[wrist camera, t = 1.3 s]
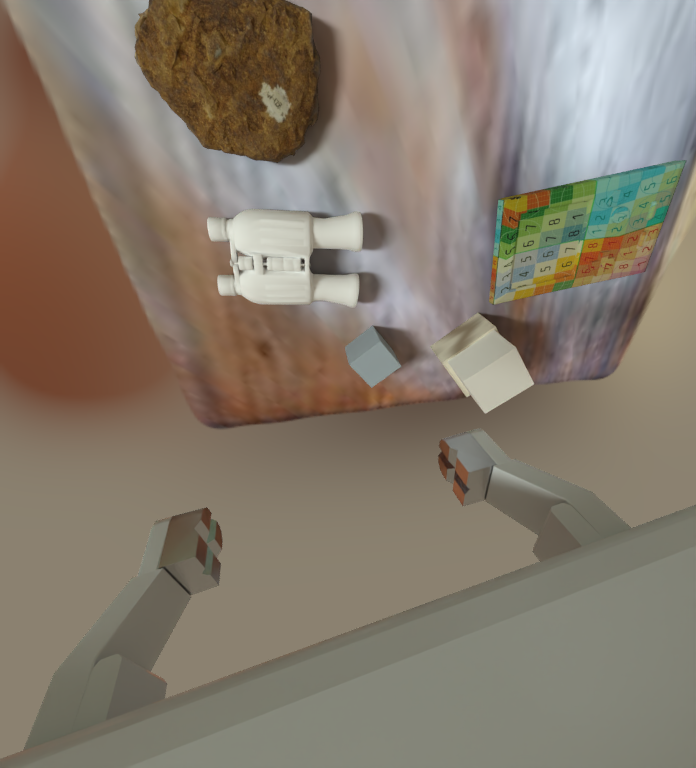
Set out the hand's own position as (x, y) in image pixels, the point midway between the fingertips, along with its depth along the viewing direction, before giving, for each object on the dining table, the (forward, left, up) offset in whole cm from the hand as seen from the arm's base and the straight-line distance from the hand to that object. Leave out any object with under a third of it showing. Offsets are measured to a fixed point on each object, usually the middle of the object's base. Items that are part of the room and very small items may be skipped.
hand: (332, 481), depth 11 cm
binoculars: (+1, -2, -33) cm, 33 cm away
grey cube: (+1, +14, -32) cm, 35 cm away
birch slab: (-10, +24, -33) cm, 42 cm away
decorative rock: (-5, -16, -33) cm, 37 cm away
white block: (-10, +24, -28) cm, 38 cm away
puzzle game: (-26, +18, -33) cm, 46 cm away
